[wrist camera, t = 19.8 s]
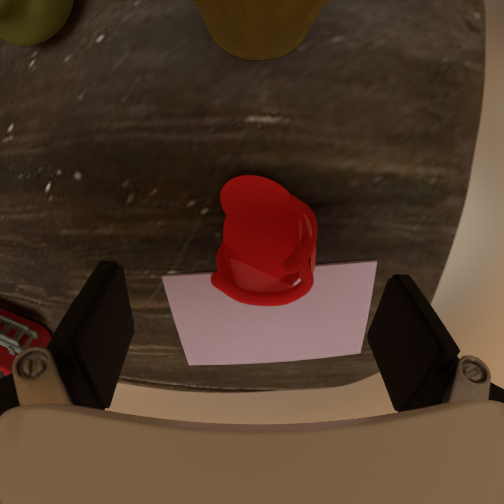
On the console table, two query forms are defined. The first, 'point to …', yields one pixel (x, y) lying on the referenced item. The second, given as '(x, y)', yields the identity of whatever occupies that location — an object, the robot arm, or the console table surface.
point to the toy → (18, 338)
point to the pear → (32, 20)
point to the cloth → (273, 318)
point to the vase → (259, 25)
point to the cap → (264, 243)
